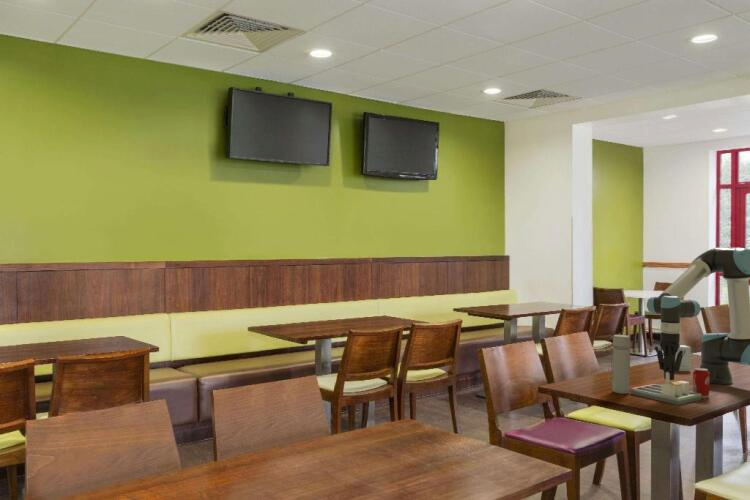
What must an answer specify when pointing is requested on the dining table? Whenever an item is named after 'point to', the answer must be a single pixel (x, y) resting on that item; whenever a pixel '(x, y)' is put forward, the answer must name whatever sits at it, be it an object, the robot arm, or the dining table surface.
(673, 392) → the block
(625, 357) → the water bottle
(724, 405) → the dining table surface
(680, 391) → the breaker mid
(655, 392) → the panel
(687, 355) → the supplement box
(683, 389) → the block
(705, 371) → the beverage can
